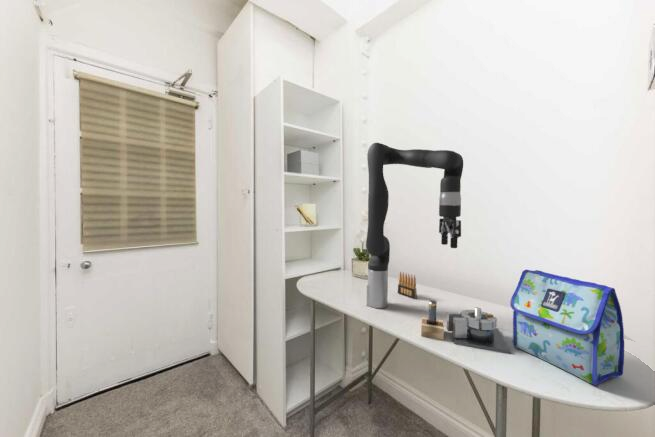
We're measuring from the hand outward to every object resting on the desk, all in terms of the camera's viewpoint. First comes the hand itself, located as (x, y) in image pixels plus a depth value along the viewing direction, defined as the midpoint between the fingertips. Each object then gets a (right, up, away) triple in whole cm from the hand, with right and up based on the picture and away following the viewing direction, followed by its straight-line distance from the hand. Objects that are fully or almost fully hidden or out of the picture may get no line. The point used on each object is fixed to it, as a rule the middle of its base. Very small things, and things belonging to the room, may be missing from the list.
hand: (448, 246), depth 100 cm
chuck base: (+7, -32, -7) cm, 33 cm away
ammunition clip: (-5, -30, +35) cm, 47 cm away
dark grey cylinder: (-8, -32, -4) cm, 33 cm away
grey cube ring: (+5, -31, -7) cm, 32 cm away
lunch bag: (+24, -33, -21) cm, 46 cm away
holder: (-8, -32, -4) cm, 33 cm away
